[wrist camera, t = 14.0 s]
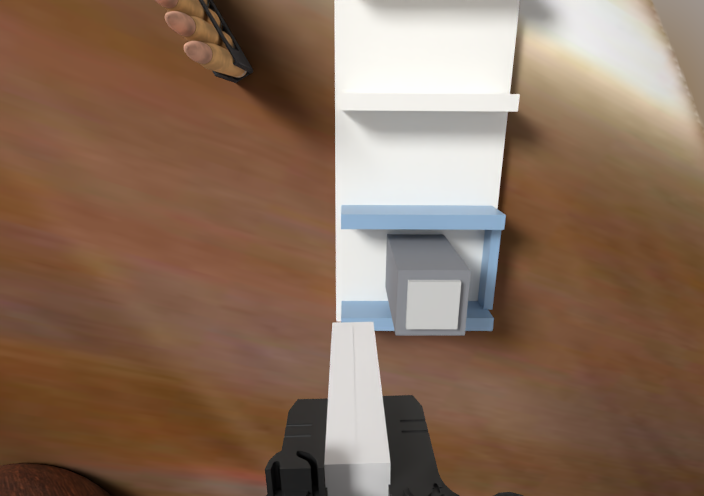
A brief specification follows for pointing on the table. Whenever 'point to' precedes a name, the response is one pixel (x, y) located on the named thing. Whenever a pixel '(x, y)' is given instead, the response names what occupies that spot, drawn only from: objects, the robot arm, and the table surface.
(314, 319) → the table surface
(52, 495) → the wooden bowl
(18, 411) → the table surface
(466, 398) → the table surface
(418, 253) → the plug
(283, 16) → the table surface
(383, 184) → the slotted holder tray
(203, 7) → the ammunition clip
